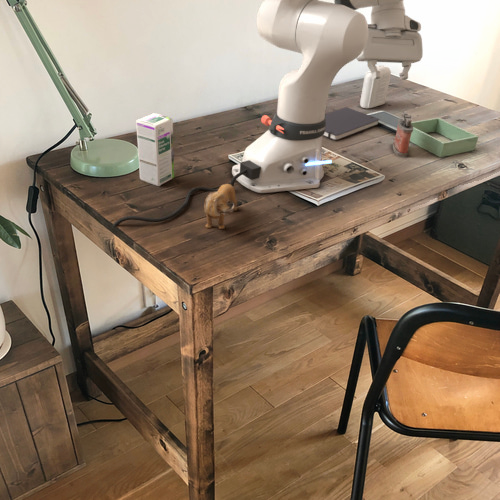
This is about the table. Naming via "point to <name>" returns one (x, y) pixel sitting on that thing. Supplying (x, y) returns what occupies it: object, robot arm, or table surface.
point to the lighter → (403, 135)
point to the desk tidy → (460, 137)
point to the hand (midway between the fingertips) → (390, 79)
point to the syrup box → (155, 149)
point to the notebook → (347, 123)
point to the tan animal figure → (219, 204)
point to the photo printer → (375, 88)
